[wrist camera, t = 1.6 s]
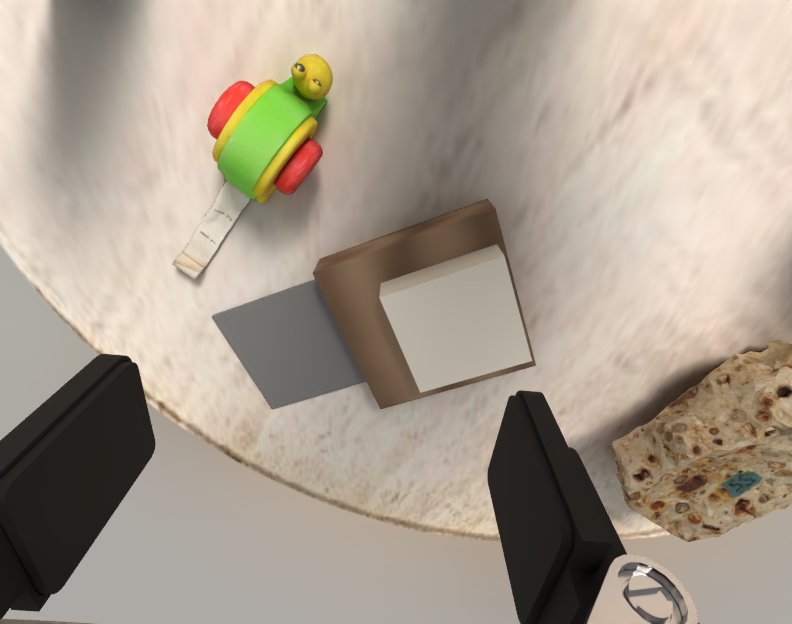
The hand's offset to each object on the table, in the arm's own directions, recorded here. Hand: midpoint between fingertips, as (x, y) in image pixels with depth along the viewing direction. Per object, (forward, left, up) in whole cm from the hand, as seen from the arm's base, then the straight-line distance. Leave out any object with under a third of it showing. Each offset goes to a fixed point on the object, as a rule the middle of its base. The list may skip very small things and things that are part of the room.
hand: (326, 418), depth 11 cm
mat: (+12, +10, -24) cm, 28 cm away
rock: (-22, +29, -24) cm, 43 cm away
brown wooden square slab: (-1, +10, -24) cm, 26 cm away
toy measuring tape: (+8, -5, -24) cm, 26 cm away
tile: (-3, +10, -21) cm, 23 cm away
